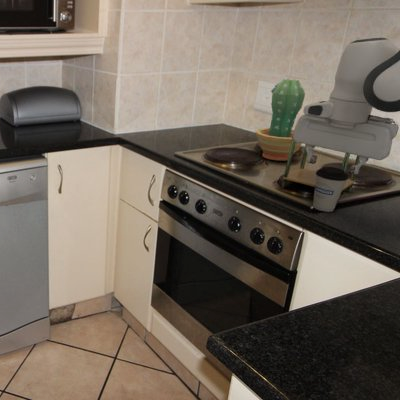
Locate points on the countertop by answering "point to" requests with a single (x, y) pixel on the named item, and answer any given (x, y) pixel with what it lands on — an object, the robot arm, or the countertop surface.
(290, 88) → the potted cactus
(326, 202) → the coffee cup
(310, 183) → the shelf rack
